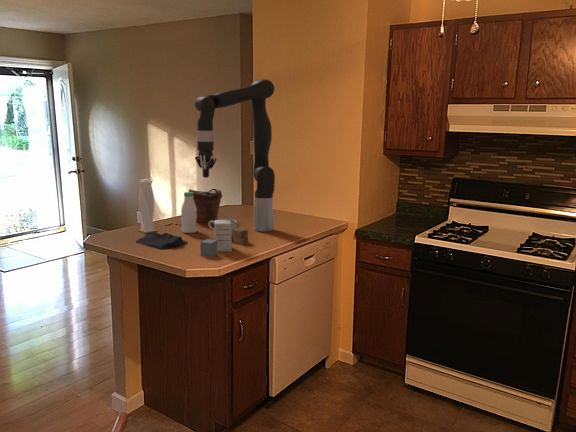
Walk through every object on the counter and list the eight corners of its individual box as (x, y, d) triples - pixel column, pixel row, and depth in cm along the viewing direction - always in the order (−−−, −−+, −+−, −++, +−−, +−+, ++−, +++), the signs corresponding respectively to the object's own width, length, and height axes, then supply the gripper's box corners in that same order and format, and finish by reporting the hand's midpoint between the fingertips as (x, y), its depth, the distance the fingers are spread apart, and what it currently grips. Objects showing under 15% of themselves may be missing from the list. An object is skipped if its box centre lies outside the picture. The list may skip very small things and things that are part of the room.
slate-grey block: (207, 252, 216) (207, 239, 214) (217, 254, 214) (217, 240, 212) (200, 255, 211) (200, 241, 210) (210, 257, 209) (210, 243, 208)
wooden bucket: (229, 218, 283) (229, 187, 279) (206, 225, 266) (205, 192, 263) (206, 215, 292) (205, 185, 289) (181, 221, 276) (180, 189, 272)
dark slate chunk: (159, 237, 242) (158, 227, 241) (190, 244, 229) (190, 234, 228) (132, 243, 230) (132, 233, 229) (164, 251, 217) (163, 241, 216)
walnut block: (240, 240, 237) (240, 228, 236) (248, 242, 234) (248, 229, 233) (232, 242, 233) (232, 229, 232) (240, 244, 230) (240, 231, 229)
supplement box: (214, 247, 224) (214, 219, 222) (231, 247, 225) (231, 219, 223) (214, 251, 217) (214, 223, 214) (231, 251, 218) (231, 223, 215)
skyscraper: (159, 231, 251) (158, 176, 245) (145, 234, 245) (143, 177, 239) (150, 228, 256) (148, 174, 251) (136, 231, 250) (134, 175, 245)
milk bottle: (193, 233, 247) (193, 194, 243) (179, 232, 249) (178, 193, 245) (199, 230, 255) (198, 191, 251) (185, 229, 256) (184, 190, 252)
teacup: (240, 235, 247) (240, 219, 245) (231, 240, 237) (230, 223, 235) (215, 232, 251) (215, 217, 250) (204, 237, 241) (204, 221, 239)
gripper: (221, 140, 232) (221, 178, 235) (202, 139, 240) (202, 175, 243) (208, 141, 226) (209, 179, 230) (189, 139, 234) (190, 176, 238)
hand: (205, 177), depth 237 cm, fingers closed
